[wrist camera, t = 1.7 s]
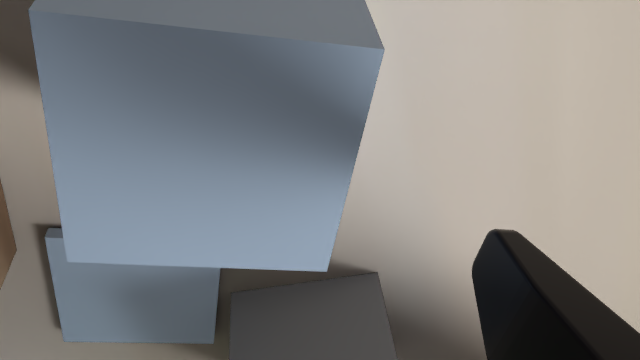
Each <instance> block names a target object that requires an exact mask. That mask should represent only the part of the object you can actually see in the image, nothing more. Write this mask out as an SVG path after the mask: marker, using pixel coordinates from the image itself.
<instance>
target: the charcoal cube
mask: <svg viewBox="0 0 640 360" xmlns="http://www.w3.org/2000/svg"><path fill="white" fill-rule="evenodd" d="M229 360H398V359H397V355H396V351H395V346H394V342H393V338H392V333H391V329H390V325H389V320H388V316H387V311H386V307H385V303H384V298H383V294H382V290H381V285H380V281H379V276H378V272H376V273H369V274H362V275H355V276H348V277H340V278H333V279H326V280H319V281H312V282H305V283H297V284H290V285H283V286H276V287H269V288H262V289H254V290H247V291H240V292H233V293H231V310H230V349H229Z"/></svg>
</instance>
